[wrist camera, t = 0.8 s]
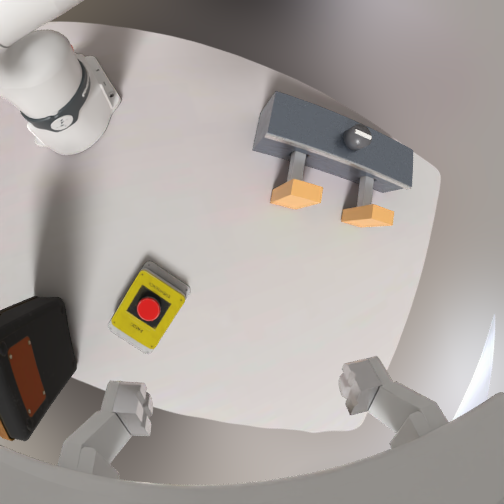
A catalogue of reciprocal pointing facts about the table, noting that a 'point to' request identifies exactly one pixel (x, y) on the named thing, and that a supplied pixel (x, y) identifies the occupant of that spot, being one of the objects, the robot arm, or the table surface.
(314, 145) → the mount
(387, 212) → the knob
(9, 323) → the black box
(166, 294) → the emergency button
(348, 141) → the dial
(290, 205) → the knob
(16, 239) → the table surface
